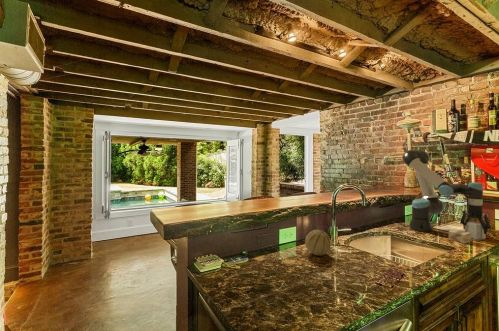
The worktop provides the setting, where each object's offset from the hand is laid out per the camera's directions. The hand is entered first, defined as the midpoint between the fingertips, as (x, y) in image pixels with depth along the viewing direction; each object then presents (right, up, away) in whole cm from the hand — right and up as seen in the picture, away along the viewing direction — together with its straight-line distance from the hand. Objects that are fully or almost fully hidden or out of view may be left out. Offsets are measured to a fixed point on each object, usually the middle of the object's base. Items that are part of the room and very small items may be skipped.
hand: (474, 236), depth 175 cm
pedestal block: (-15, -2, -5) cm, 16 cm away
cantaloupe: (-118, -4, -26) cm, 121 cm away
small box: (0, -1, 0) cm, 1 cm away
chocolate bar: (-92, -5, -57) cm, 108 cm away
